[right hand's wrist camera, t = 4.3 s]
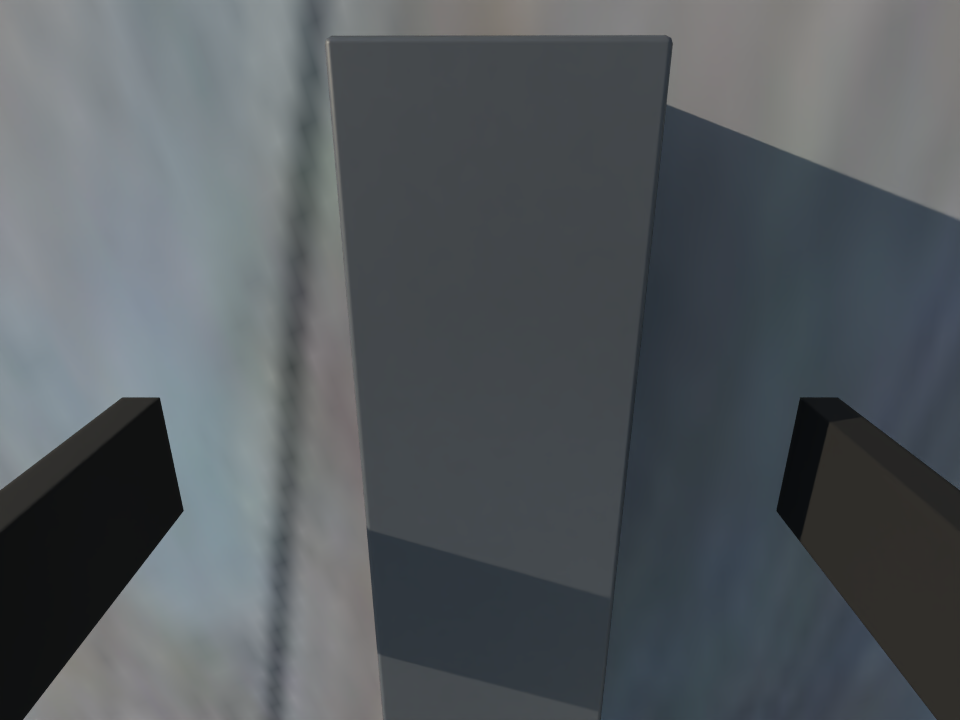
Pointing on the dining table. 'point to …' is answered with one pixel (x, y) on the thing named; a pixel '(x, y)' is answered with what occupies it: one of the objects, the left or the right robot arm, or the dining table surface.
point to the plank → (495, 351)
